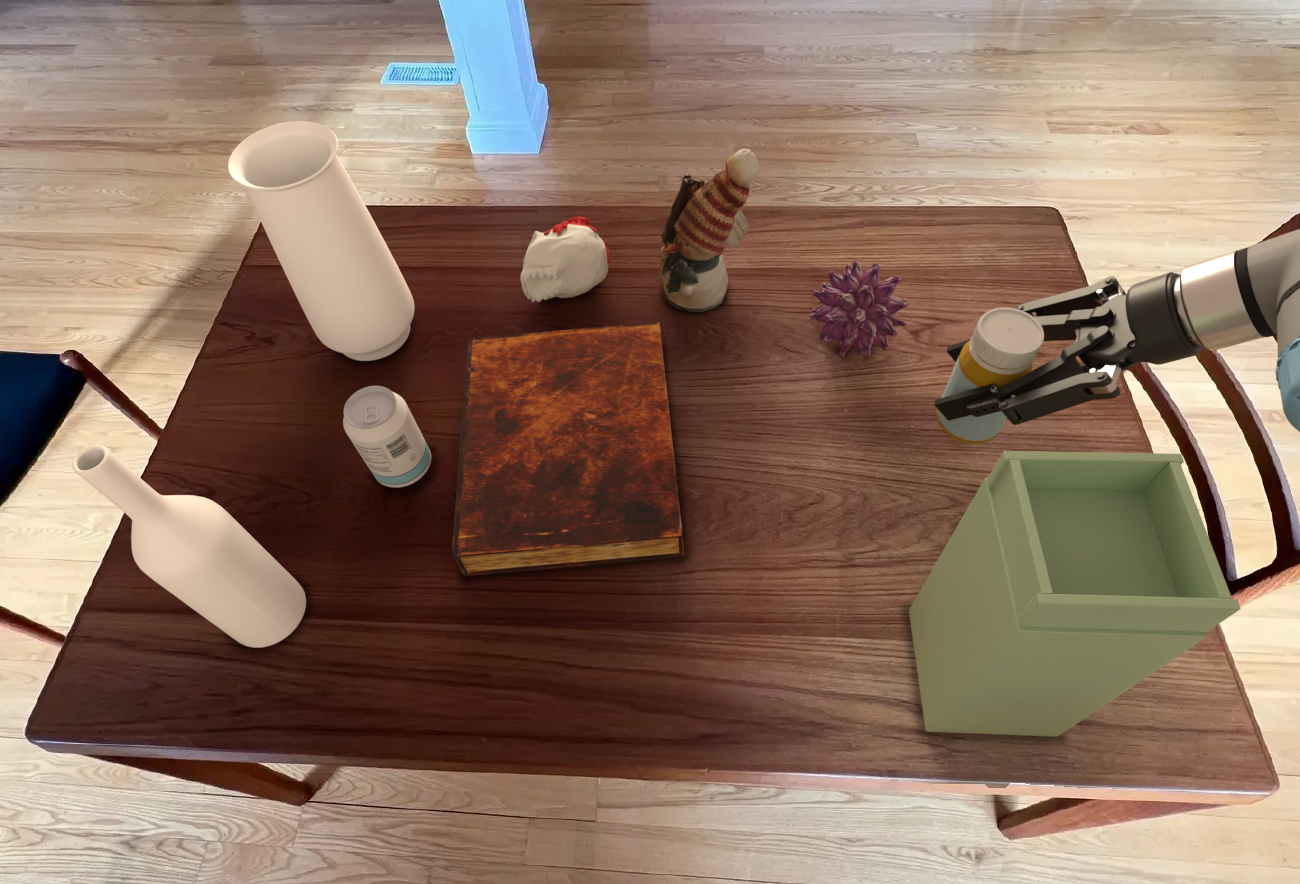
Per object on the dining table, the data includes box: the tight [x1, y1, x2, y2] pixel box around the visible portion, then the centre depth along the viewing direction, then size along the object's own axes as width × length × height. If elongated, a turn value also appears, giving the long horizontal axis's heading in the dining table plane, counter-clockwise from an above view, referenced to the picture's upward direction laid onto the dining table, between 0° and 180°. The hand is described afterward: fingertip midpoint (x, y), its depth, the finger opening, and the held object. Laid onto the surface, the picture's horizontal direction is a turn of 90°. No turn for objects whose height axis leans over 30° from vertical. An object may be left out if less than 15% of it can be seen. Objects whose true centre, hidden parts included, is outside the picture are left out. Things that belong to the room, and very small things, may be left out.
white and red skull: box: [519, 215, 611, 303], centre depth 106 cm, size 9×11×15 cm
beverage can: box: [342, 385, 432, 488], centre depth 89 cm, size 7×7×12 cm
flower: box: [808, 258, 909, 358], centre depth 96 cm, size 12×12×12 cm
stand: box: [908, 450, 1242, 738], centre depth 64 cm, size 12×12×30 cm
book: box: [451, 321, 686, 577], centre depth 91 cm, size 30×24×5 cm
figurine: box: [655, 148, 760, 313], centre depth 99 cm, size 13×12×20 cm
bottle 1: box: [71, 444, 307, 649], centre depth 72 cm, size 8×8×30 cm
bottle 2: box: [936, 306, 1044, 445], centre depth 82 cm, size 7×7×15 cm
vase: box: [227, 120, 416, 362], centre depth 94 cm, size 13×13×28 cm
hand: (948, 382), depth 85 cm, fingers closed on bottle 2, 7 cm apart
